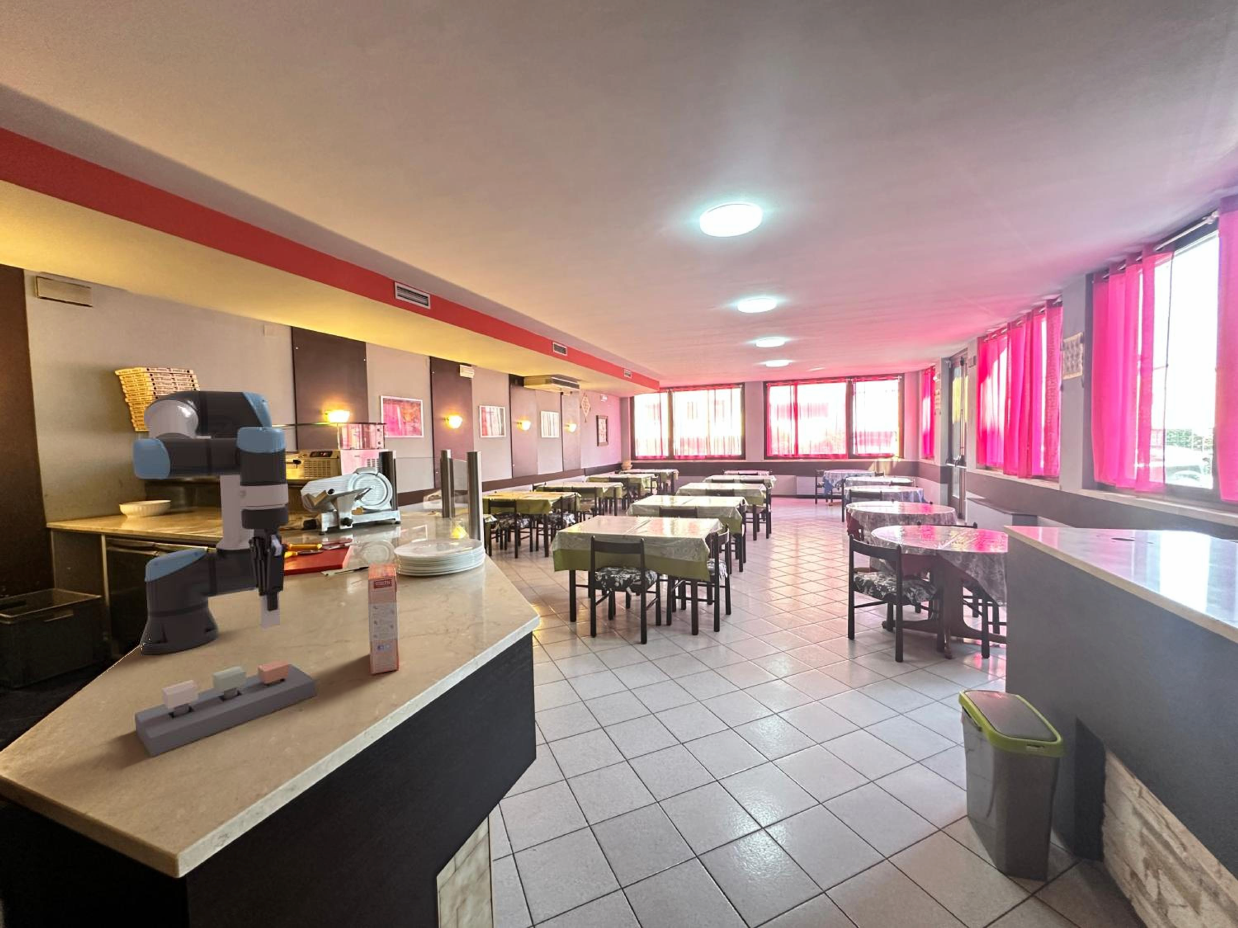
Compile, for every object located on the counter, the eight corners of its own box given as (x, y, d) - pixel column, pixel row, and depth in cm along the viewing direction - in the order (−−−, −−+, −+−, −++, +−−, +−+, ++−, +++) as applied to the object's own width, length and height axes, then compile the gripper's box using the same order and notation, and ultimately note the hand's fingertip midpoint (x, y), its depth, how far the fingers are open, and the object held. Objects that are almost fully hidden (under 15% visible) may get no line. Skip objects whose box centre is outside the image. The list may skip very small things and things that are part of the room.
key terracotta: (259, 692, 98) (257, 666, 98) (282, 684, 101) (281, 659, 101) (266, 698, 95) (265, 671, 95) (290, 690, 98) (288, 663, 98)
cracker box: (401, 670, 108) (397, 574, 108) (370, 676, 106) (365, 578, 105) (399, 647, 121) (395, 562, 120) (371, 652, 118) (367, 565, 118)
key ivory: (163, 718, 87) (162, 688, 87) (193, 708, 90) (191, 679, 90) (169, 725, 84) (167, 695, 84) (199, 715, 87) (197, 685, 87)
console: (135, 729, 87) (134, 713, 87) (291, 677, 106) (290, 663, 106) (151, 756, 79) (150, 738, 79) (316, 694, 98) (315, 679, 98)
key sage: (214, 701, 92) (212, 673, 92) (240, 692, 95) (238, 665, 95) (220, 708, 90) (219, 679, 90) (247, 698, 93) (245, 670, 93)
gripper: (231, 506, 98) (237, 624, 99) (253, 511, 90) (259, 639, 91) (275, 502, 104) (280, 613, 105) (299, 506, 96) (305, 626, 97)
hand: (271, 625), depth 98 cm, fingers closed
